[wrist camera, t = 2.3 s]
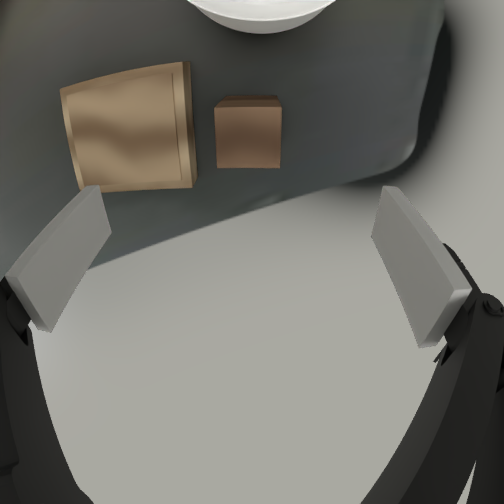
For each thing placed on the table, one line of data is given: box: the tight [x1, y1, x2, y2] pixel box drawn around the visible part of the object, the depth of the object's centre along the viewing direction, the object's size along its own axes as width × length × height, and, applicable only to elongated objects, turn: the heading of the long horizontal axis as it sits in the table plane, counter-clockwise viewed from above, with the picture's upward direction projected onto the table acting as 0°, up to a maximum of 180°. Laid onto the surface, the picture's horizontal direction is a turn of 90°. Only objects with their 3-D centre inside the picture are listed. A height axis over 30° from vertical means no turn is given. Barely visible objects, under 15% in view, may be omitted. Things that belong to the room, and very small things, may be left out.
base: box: [60, 62, 198, 193], centre depth 27 cm, size 13×14×3 cm
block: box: [214, 95, 282, 168], centre depth 24 cm, size 5×5×8 cm
